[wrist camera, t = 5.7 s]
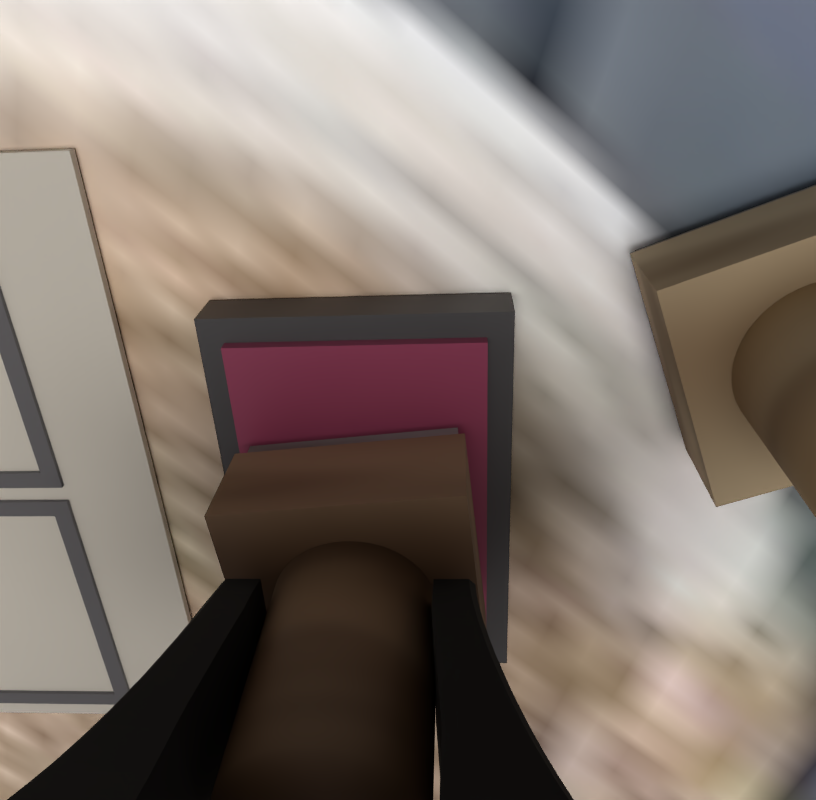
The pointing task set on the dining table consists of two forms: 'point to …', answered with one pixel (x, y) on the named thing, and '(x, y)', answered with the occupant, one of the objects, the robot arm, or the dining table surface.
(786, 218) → the oak stamp
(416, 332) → the ink pad
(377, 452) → the walnut stamp
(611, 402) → the dining table surface
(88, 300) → the sheet
